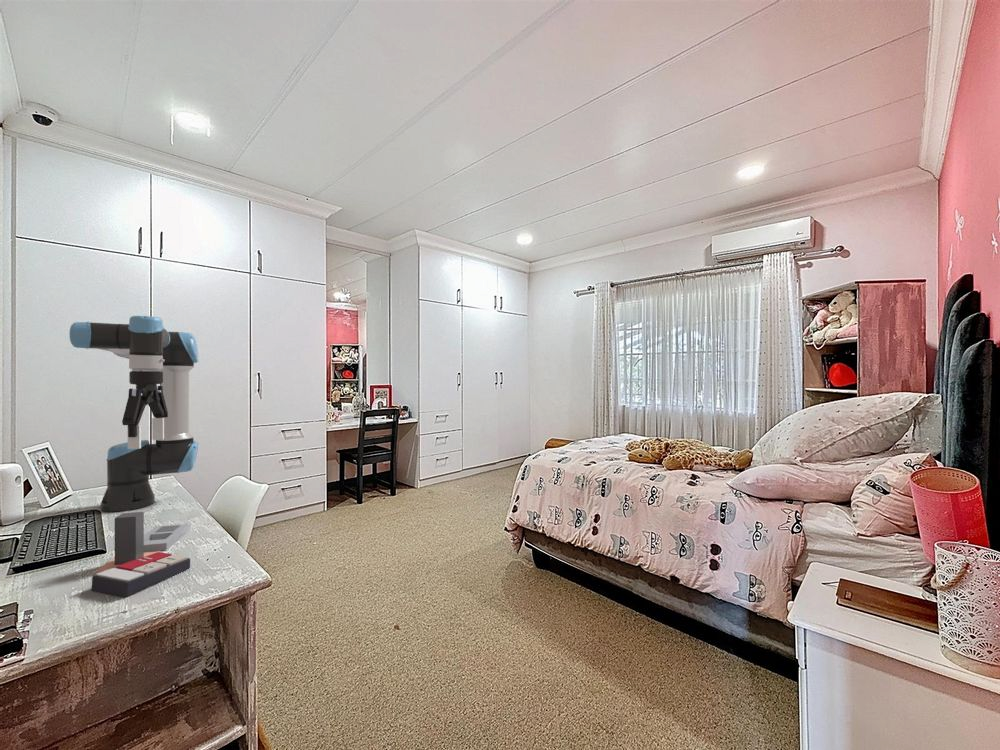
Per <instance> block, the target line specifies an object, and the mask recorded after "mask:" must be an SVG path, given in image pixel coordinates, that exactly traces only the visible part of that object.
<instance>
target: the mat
mask: <svg viewBox="0 0 1000 750" xmlns="http://www.w3.org/2000/svg"><path fill="white" fill-rule="evenodd" d="M157 552H162V551H152V552H144V557H145V556H148V555H151V554H154V553H157ZM116 566H118V565H115V556H114V557H113V558H111V559H110V560H108V561H107V562H105V563H104V564H103V565H101V566H100V567H98V568H97V569H96V570H94V571H93V575H96V574H97V573H100V572H103V571H106V570H109V569H112V568H116Z"/></svg>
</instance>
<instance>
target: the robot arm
mask: <svg viewBox="0 0 1000 750" xmlns="http://www.w3.org/2000/svg"><path fill="white" fill-rule="evenodd" d="M163 323H164V322H163V319H162V318H161V317H159V316H150V315H132V316H131V317H129V323H128V324H127V323H109V322H108V323H107V322H105V323H104V322H90V321H85V322H83V321H82V322H81V321H76V322H73V323H72V324H71V325H70V327H69V340H70V343H71V345H72V346H73V347H74V348H78V349H87V350H88V349H93V350H94V349H97V350H102V351H106V352H110V353H113V355H115V356H117V357H120V358H123V359H129V361H128V363H129V364H128V369H130V371H129V376H128V377H129V378H128V382H129V384H131V385H135V388H129V389H128V396H127V397H128V398H127V401H126V405H125V409H124V413H123V417H122V421H121V423H122V425H123V426H127V442H123V443H119V444H114V445H112V446H110V447H109V448H108V449H107V458H106V462H107V463H106V466H107V467H106V471H107V472H106V475H107V479H106V480H107V482H106V483H107V484H106V486H107V488H106V489H105V492H104V495H103V497H102V499H101V502H100V511H102V512H109V513H110V512H125V511H132V510H135V509H142V508H144V507H147V506H150V505H152V504H154V503H155V501H156V500H155V499H156V498H155V494H154V491H153V489H152V486H151V484H150V481H149V480H150V476H155V475H168V474H175V473H176V474H180V473H187V472H191V471H192V470H193V469H194V467H195V465H196V460H197V456H198V448H199V442H198V441H197V440H194V435H192V434H191V433H190V429H189V428H190V399H189V398H190V371H192V370H193V368H195V367H194V366H195V364H196V363H199V351H198V344H197V341H196V337H195V336H194V334H192V333H190V332H184V331H168V330H167V329H166V328H165V326H164V324H163ZM147 406H148V407H149V410H150V411H151V413H152V415H153V417H152V419H151V422H152V425H151V429H152V437H151V438H152V441H153V440H154V441H155V443H150V441H149V439H143V440H142V427H141V424H140V422H141V419H142V417H143V413H144V411H145V408H146V407H147Z"/></svg>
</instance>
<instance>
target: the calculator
mask: <svg viewBox="0 0 1000 750" xmlns="http://www.w3.org/2000/svg"><path fill="white" fill-rule="evenodd" d="M156 552H157V551H156ZM189 568H190V569H191V558H189V557H188V556H186V555H179V554H172V553H166V552H162V551H161V552H157V553H154V554H151V555H148V556H145V557H142V558H139V559H136V560H133V561H130V562H127V563H124V564H121V565H118V566H116V568H112V569H109V570H106V571H103V572H100V573H97V574H93V575H92V579H91V592H93V593H98V594H103V595H108V596H113V597H117V598H118V597H119V598H122V599H126V598H130V597H131V596H134V595H136V594H138V593H141V592H142V591H145V590H146V589H148V588H149V587H152V586H154V585H156V584H159V583H162V582H164V581H167V580H168V579H170V578H171V579H172V578H173V576H174V577H175V575H176V576H178V575H180V574H182V573H184V571H185V572H187V571H188V570H187V569H189ZM190 569H189V570H190ZM186 570H187V571H186ZM181 572H182V573H181ZM179 573H180V574H179ZM177 574H178V575H177Z"/></svg>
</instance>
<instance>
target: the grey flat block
mask: <svg viewBox="0 0 1000 750" xmlns="http://www.w3.org/2000/svg"><path fill="white" fill-rule="evenodd" d="M190 530H191V523H180V524H168V525H166V524H165V525H156V526H155V527H152V529H149V531H147V532H146V533H144V553H146V552H157V551H161V552H162V551H168V550H169V549H170V548H171V547H172V546H173V545H175V544H176V543H177V542H178V541H179V540H181V538H182V537H184V536H185V535H186V534H187V533H188V532H189V531H190ZM184 534H185V535H184ZM183 535H184V536H183ZM175 542H176V543H175Z"/></svg>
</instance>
